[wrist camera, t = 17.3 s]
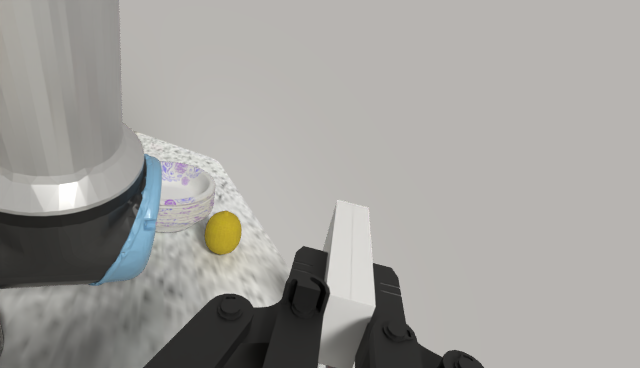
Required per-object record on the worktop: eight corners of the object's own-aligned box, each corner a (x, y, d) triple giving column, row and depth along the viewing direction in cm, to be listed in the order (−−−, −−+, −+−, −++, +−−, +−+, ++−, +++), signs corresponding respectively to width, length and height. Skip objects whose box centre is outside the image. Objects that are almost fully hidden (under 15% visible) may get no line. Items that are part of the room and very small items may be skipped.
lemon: (244, 257, 58) (252, 215, 55) (216, 269, 54) (222, 224, 51) (223, 240, 61) (229, 199, 58) (195, 250, 57) (200, 207, 54)
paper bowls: (129, 251, 53) (130, 205, 50) (109, 202, 63) (109, 161, 60) (224, 234, 63) (230, 194, 60) (194, 194, 73) (197, 159, 70)
